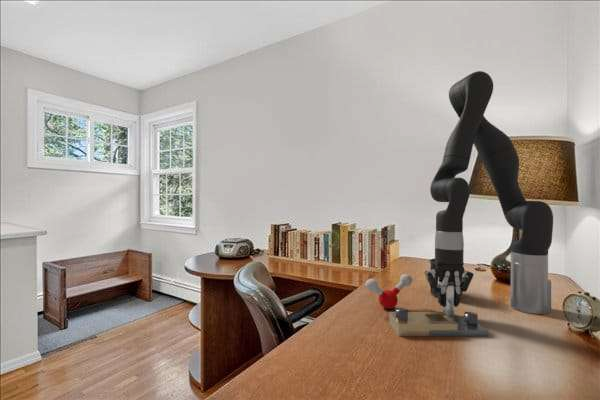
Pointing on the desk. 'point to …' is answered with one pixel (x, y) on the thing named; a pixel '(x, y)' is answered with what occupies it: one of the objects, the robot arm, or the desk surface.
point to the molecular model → (388, 291)
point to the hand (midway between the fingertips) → (448, 305)
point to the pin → (449, 299)
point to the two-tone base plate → (434, 324)
